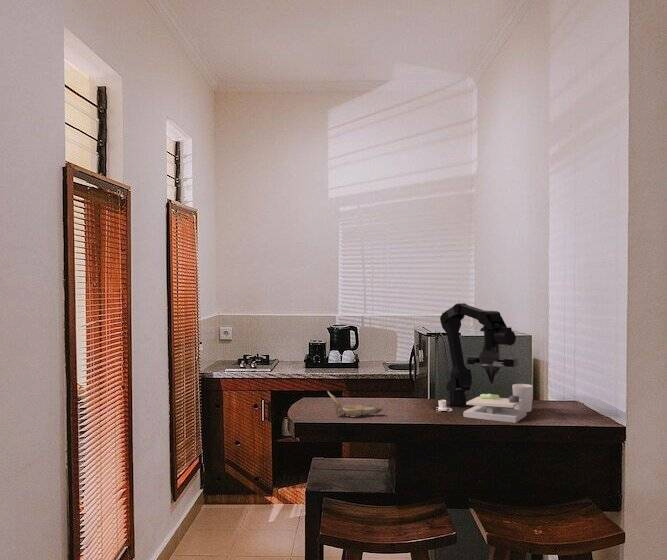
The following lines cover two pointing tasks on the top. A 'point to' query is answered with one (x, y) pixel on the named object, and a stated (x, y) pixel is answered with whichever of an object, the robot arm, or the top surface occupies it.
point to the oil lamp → (353, 408)
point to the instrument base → (495, 413)
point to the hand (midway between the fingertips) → (492, 383)
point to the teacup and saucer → (443, 406)
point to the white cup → (523, 396)
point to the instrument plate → (495, 401)
